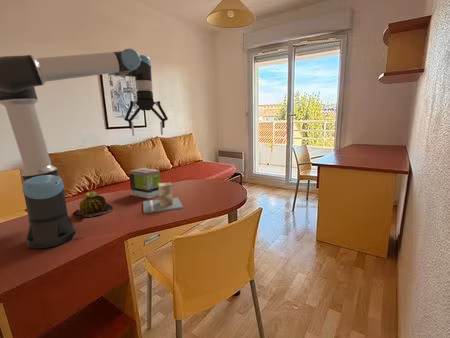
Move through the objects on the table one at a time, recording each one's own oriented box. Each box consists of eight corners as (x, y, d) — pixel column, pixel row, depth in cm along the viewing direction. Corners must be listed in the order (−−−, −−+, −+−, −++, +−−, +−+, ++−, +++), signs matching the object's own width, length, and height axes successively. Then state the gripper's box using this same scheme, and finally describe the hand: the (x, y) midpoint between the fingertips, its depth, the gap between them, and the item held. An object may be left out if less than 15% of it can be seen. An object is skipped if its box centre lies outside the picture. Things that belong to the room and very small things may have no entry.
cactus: (63, 218, 108) (60, 197, 106) (86, 205, 123) (84, 187, 121) (100, 218, 106) (98, 197, 104) (119, 206, 122) (117, 187, 120)
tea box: (162, 194, 139) (160, 169, 137) (148, 199, 131) (146, 172, 128) (144, 191, 147) (142, 167, 145) (130, 195, 139) (128, 170, 136)
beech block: (160, 206, 118) (158, 186, 116) (159, 202, 123) (158, 183, 121) (172, 204, 120) (171, 185, 118) (171, 201, 125) (170, 182, 123)
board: (143, 213, 111) (143, 211, 111) (143, 202, 126) (143, 201, 125) (182, 208, 117) (182, 206, 116) (178, 198, 131) (177, 197, 131)
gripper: (115, 89, 109) (120, 136, 113) (171, 90, 117) (174, 134, 121) (117, 91, 116) (121, 135, 120) (169, 92, 124) (172, 133, 128)
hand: (147, 135), depth 121 cm, fingers open, 13 cm apart
